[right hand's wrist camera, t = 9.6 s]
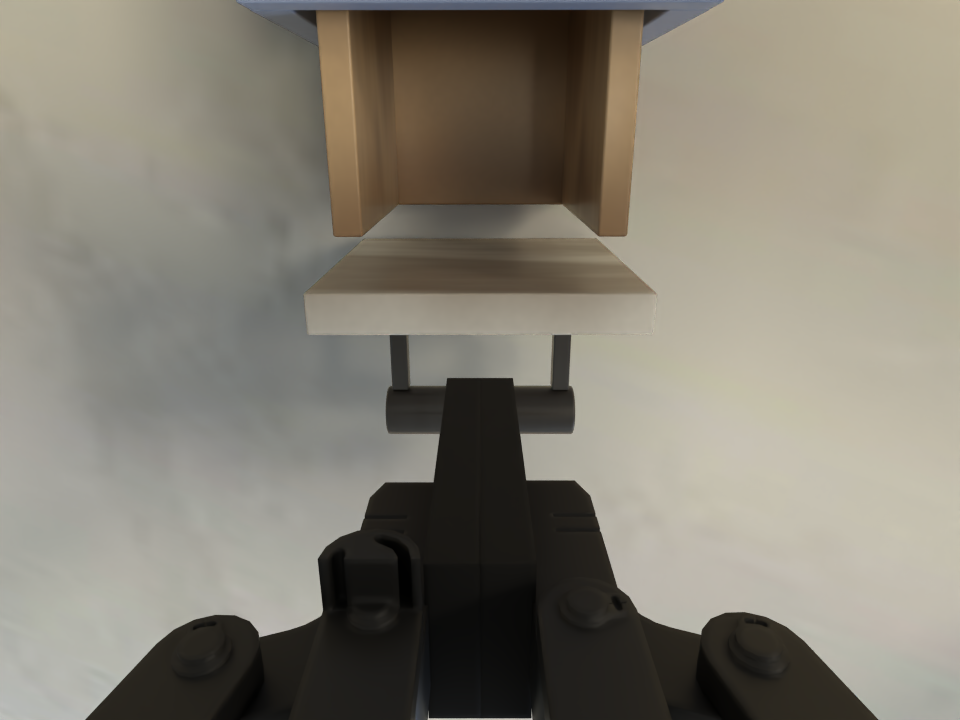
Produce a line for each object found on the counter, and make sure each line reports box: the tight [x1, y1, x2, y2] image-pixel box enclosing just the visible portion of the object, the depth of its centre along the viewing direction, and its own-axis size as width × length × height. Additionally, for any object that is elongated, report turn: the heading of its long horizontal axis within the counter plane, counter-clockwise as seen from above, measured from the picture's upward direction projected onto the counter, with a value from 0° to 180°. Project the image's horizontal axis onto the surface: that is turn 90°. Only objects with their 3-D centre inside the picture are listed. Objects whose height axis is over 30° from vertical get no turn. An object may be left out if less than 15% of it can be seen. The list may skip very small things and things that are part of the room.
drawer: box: [303, 10, 657, 434], centre depth 20 cm, size 22×10×10 cm, turn 0°
